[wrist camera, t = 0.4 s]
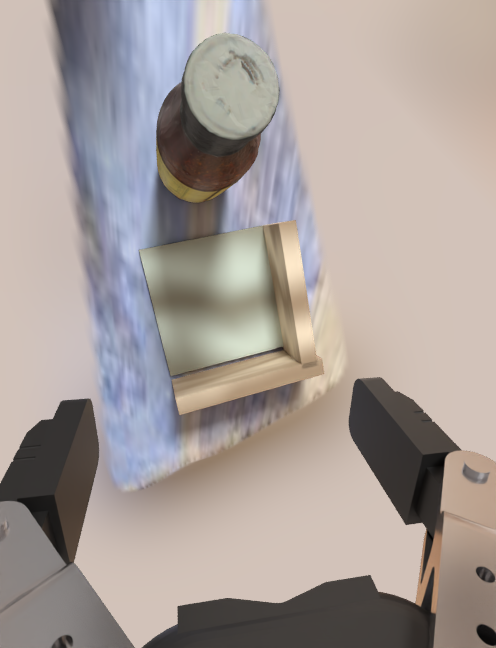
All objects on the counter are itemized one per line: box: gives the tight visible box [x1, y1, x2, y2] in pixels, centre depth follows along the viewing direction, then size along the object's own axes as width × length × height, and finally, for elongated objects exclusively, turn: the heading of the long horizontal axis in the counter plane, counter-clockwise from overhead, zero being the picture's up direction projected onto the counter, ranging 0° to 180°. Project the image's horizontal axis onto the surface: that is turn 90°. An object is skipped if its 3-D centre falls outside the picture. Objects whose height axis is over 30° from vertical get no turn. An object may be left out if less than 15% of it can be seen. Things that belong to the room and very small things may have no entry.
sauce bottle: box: [156, 33, 280, 203], centre depth 26 cm, size 7×6×20 cm
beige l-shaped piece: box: [139, 220, 324, 415], centre depth 36 cm, size 14×14×5 cm
